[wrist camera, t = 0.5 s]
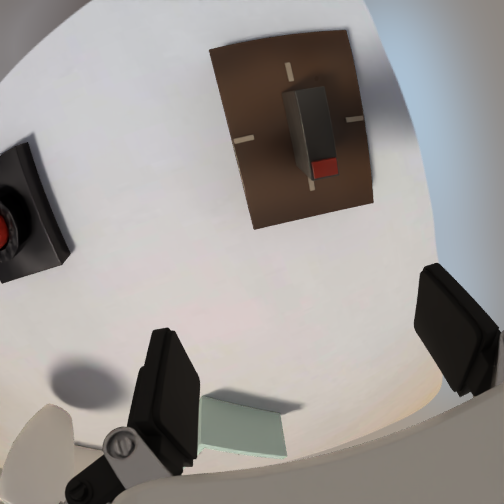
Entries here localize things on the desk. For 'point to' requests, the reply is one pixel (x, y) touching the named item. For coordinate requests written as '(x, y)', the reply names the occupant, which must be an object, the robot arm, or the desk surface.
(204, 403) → the right angle wall
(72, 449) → the cup
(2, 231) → the button
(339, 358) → the desk surface
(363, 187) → the panel
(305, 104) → the handle
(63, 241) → the button block
